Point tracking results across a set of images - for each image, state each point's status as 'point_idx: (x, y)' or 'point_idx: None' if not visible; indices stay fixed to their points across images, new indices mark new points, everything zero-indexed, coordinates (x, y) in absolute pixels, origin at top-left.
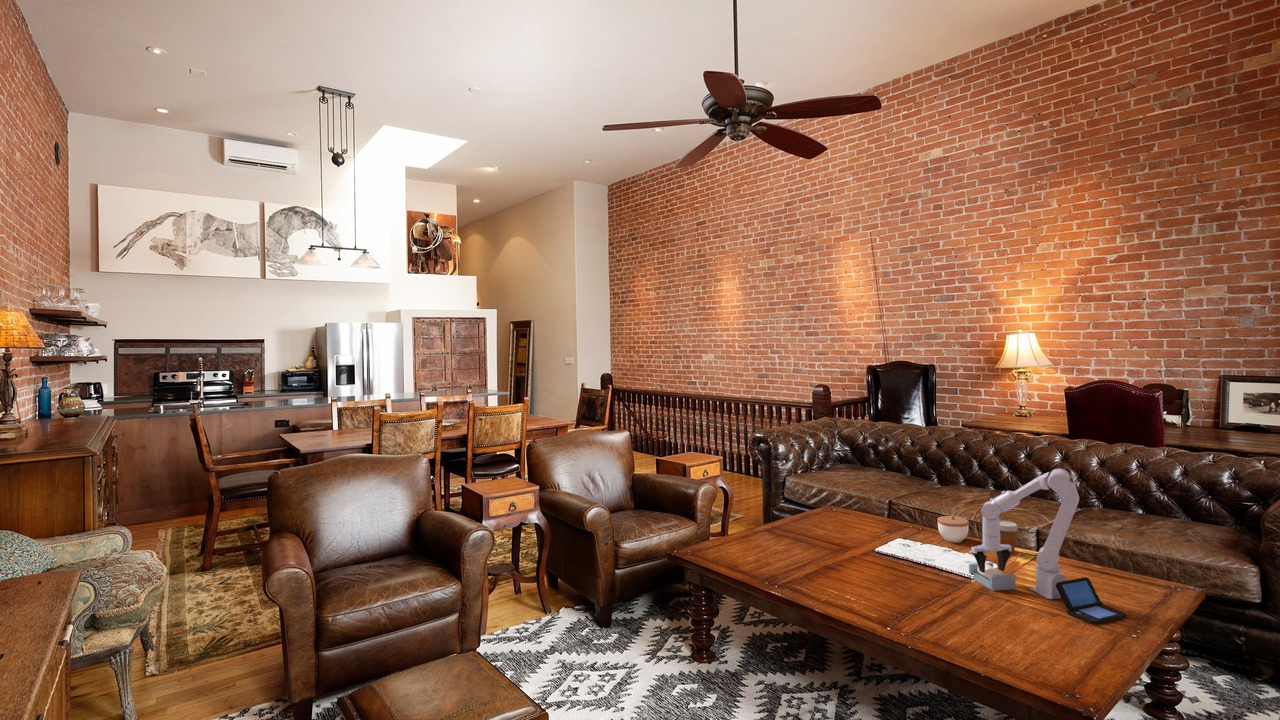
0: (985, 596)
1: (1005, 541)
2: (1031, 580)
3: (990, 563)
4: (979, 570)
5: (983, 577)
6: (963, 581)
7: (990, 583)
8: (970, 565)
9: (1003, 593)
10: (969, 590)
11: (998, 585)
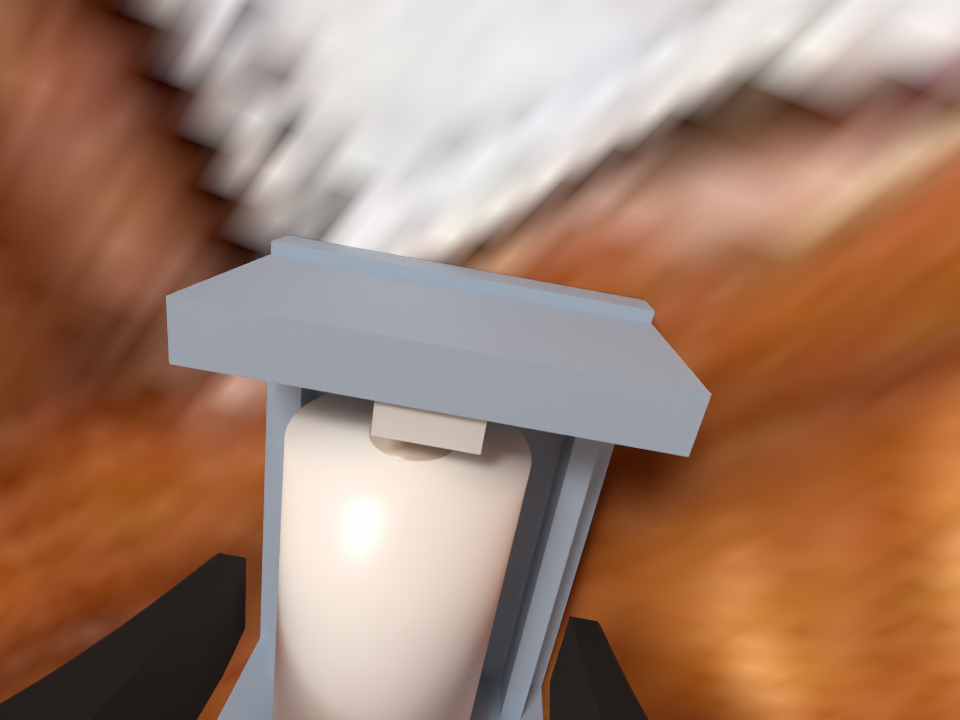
0: None
1: None
2: (933, 601)
3: (628, 445)
4: (210, 559)
5: None
6: (113, 358)
7: (241, 682)
8: (181, 345)
9: None
10: (44, 567)
11: None
